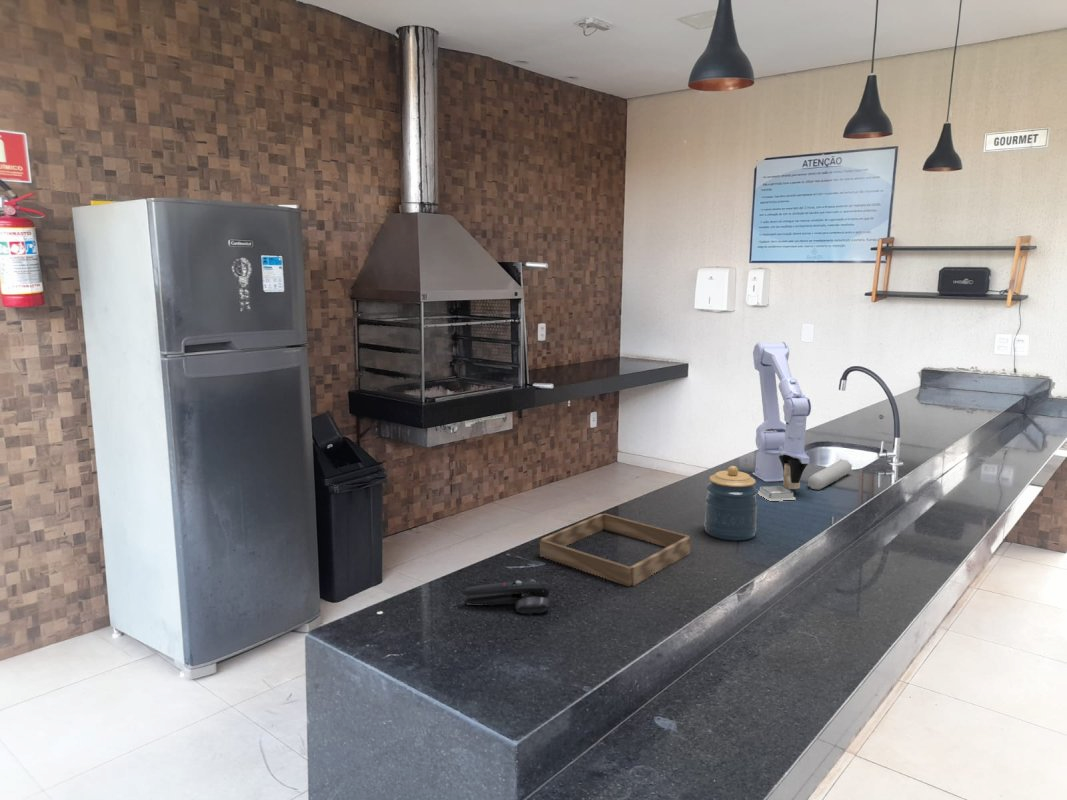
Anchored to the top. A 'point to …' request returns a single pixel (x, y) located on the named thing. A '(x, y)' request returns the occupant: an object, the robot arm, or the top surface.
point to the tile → (775, 499)
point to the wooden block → (789, 478)
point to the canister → (731, 505)
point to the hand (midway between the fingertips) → (791, 480)
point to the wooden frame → (613, 571)
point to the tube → (829, 474)
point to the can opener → (512, 595)
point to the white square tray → (768, 489)
